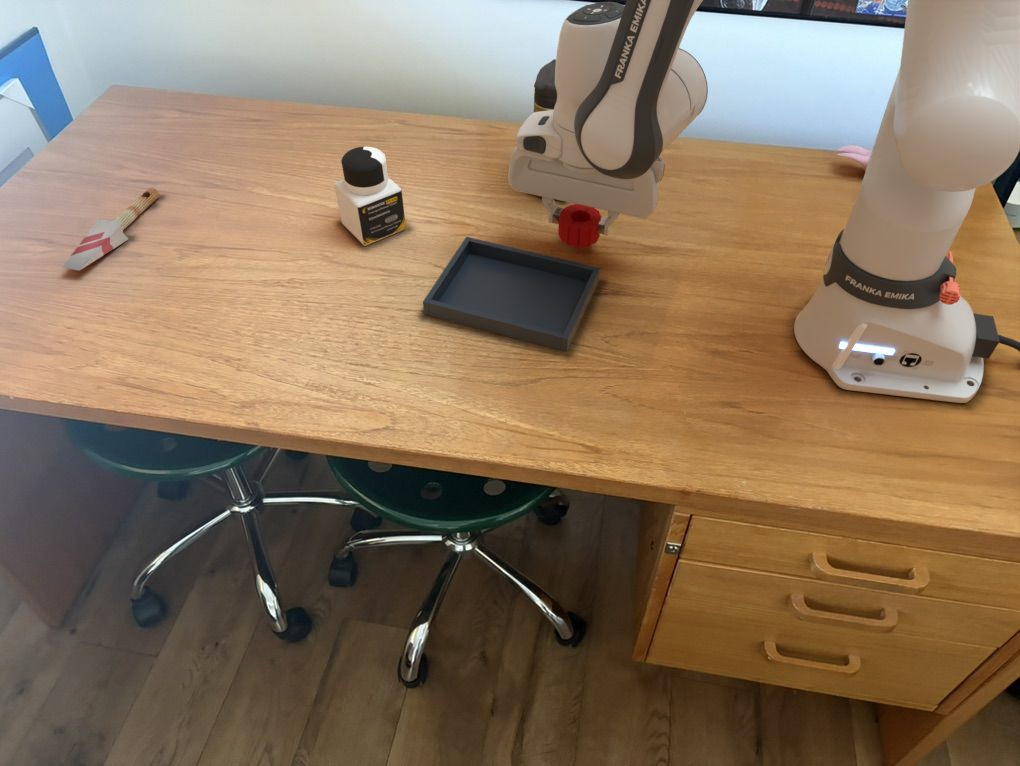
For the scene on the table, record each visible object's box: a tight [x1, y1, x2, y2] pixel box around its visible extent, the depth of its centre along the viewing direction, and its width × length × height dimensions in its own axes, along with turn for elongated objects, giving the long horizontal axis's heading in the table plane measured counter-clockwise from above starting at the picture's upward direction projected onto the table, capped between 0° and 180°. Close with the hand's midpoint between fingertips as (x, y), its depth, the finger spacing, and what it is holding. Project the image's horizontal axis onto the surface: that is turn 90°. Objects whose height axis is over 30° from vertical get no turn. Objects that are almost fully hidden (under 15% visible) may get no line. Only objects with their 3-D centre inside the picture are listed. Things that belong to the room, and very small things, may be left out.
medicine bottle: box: [334, 146, 407, 247], centre depth 113 cm, size 7×7×12 cm
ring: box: [557, 203, 602, 249], centre depth 111 cm, size 6×6×3 cm
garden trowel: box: [62, 187, 160, 272], centre depth 115 cm, size 4×3×20 cm
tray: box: [422, 236, 601, 352], centre depth 106 cm, size 20×15×3 cm
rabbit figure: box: [836, 144, 873, 172], centre depth 124 cm, size 6×6×15 cm
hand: (579, 226), depth 111 cm, fingers closed on ring, 5 cm apart
